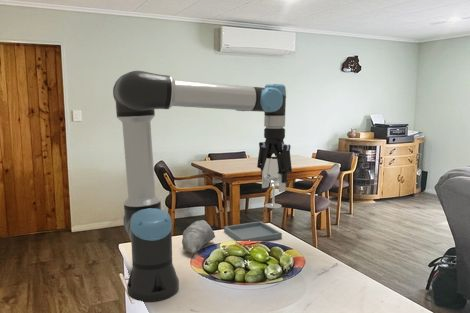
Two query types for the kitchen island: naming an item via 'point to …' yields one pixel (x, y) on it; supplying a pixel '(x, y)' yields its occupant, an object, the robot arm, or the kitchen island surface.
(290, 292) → the kitchen island surface
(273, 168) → the wineglass
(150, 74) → the robot arm
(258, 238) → the tray
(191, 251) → the grey rock
